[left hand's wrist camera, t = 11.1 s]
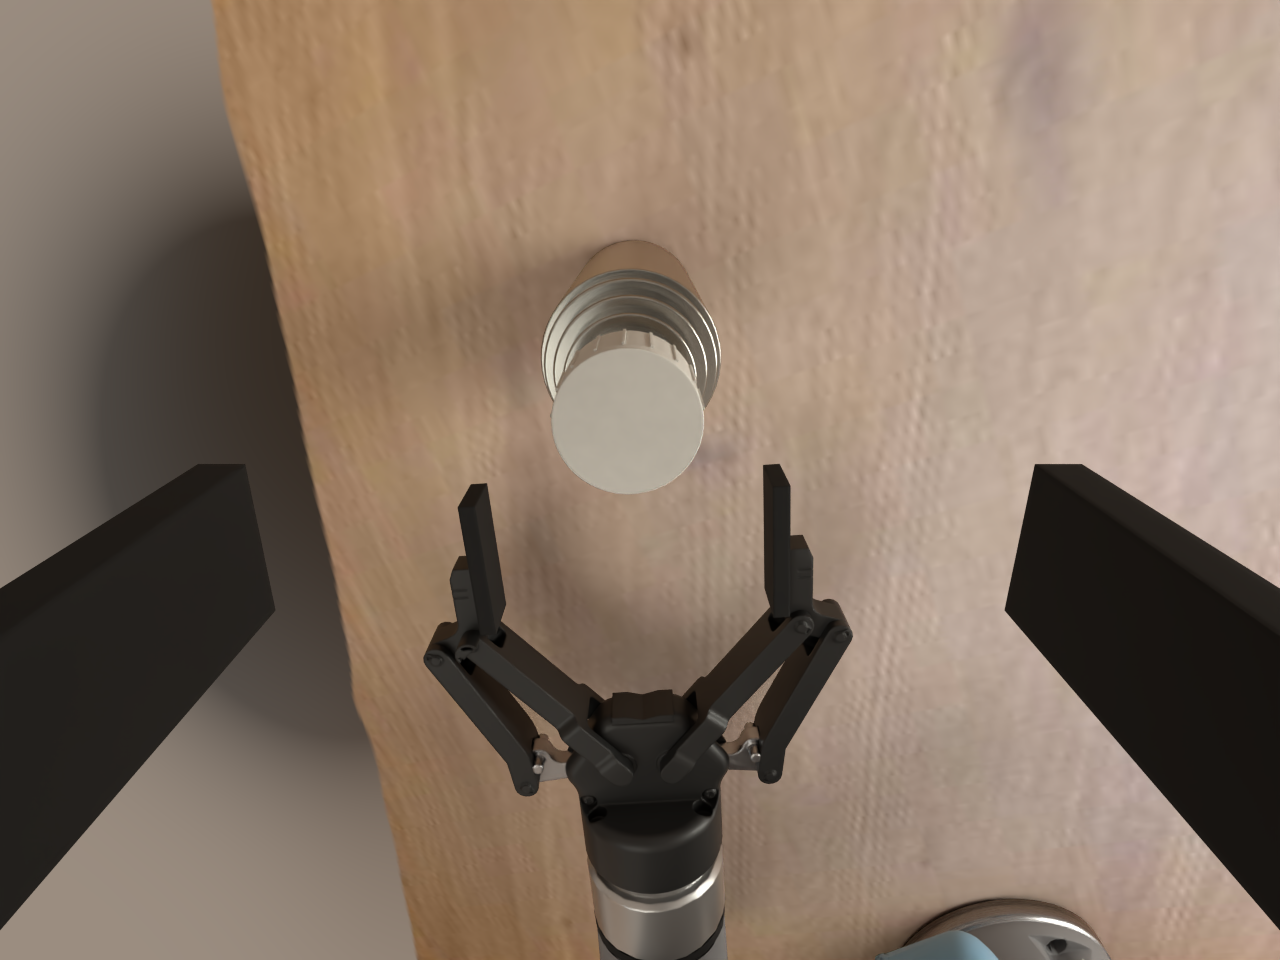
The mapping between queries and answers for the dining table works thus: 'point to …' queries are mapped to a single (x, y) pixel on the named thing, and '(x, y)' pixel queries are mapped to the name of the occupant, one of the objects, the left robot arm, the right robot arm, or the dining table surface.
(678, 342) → the bottle
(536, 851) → the dining table surface
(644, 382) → the cap
